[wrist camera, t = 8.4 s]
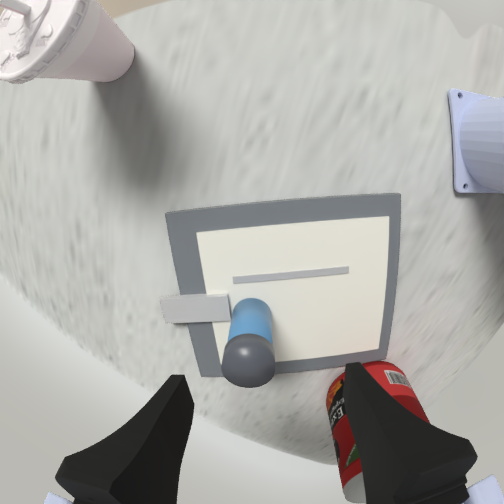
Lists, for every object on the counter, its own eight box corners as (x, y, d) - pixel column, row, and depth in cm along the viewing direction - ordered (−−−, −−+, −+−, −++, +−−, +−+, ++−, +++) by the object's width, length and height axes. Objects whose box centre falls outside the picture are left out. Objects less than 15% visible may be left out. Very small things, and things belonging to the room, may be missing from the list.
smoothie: (152, 12, 15) (44, -93, 2) (154, 87, 17) (2, 22, 4) (77, 37, 15) (-54, -12, 2) (77, 109, 17) (-82, 103, 4)
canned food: (319, 372, 24) (341, 479, 14) (404, 347, 23) (457, 438, 13) (328, 421, 26) (345, 511, 16) (401, 400, 25) (436, 481, 15)
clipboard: (397, 192, 19) (404, 195, 18) (384, 355, 23) (388, 363, 22) (147, 214, 20) (141, 218, 19) (185, 373, 24) (183, 381, 23)
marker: (270, 294, 21) (272, 345, 15) (274, 329, 22) (277, 385, 16) (227, 298, 21) (216, 350, 15) (234, 333, 22) (226, 389, 16)
